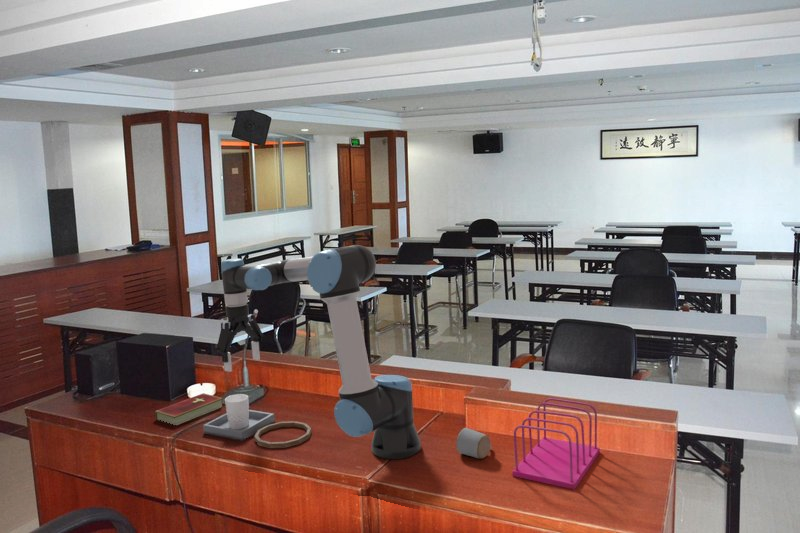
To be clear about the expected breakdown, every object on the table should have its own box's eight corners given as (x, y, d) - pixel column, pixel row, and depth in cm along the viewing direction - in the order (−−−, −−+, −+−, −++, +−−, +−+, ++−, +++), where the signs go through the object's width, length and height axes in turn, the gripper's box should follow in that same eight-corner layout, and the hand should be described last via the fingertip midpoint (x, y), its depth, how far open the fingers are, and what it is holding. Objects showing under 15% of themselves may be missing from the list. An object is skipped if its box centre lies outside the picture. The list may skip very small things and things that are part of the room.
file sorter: (512, 477, 183) (510, 423, 180) (543, 442, 204) (542, 393, 201) (574, 490, 174) (573, 434, 171) (600, 452, 194) (599, 402, 192)
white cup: (226, 423, 230) (224, 396, 229) (249, 419, 233) (247, 392, 231) (227, 431, 223) (225, 403, 221) (251, 428, 225) (249, 400, 224)
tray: (274, 421, 232) (274, 413, 231) (242, 440, 217) (241, 432, 216) (237, 415, 239) (237, 407, 239) (203, 433, 225) (203, 425, 224)
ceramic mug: (479, 463, 191) (478, 438, 190) (456, 456, 197) (455, 432, 196) (498, 450, 200) (497, 426, 198) (475, 444, 205) (474, 421, 204)
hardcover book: (155, 421, 240) (154, 410, 239) (203, 402, 256) (202, 392, 256) (175, 427, 233) (174, 416, 232) (223, 408, 249) (222, 397, 249)
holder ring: (305, 446, 209) (305, 442, 209) (249, 449, 210) (249, 444, 210) (314, 424, 227) (314, 420, 227) (262, 426, 228) (262, 422, 228)
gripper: (254, 296, 235) (259, 354, 238) (200, 311, 214) (207, 374, 217) (269, 297, 231) (275, 356, 234) (217, 313, 210) (224, 377, 213)
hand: (242, 365), depth 226 cm, fingers open, 13 cm apart
